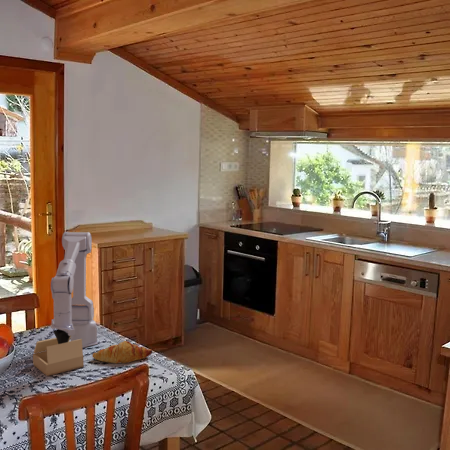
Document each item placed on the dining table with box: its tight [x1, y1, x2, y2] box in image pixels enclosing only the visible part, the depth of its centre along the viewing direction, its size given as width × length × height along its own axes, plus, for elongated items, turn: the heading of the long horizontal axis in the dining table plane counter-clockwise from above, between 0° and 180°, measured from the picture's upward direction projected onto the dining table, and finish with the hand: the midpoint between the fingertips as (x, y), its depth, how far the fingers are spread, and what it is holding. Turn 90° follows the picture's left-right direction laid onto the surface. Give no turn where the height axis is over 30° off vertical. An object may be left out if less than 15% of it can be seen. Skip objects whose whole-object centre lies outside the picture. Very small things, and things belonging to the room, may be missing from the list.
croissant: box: [91, 340, 153, 364], centre depth 196 cm, size 21×10×8 cm, turn 100°
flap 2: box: [47, 339, 84, 365], centre depth 184 cm, size 12×6×1 cm
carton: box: [32, 351, 85, 377], centre depth 189 cm, size 13×12×4 cm
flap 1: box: [33, 336, 71, 354], centre depth 191 cm, size 12×6×1 cm
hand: (63, 350), depth 184 cm, fingers closed, pressing on flap 2
